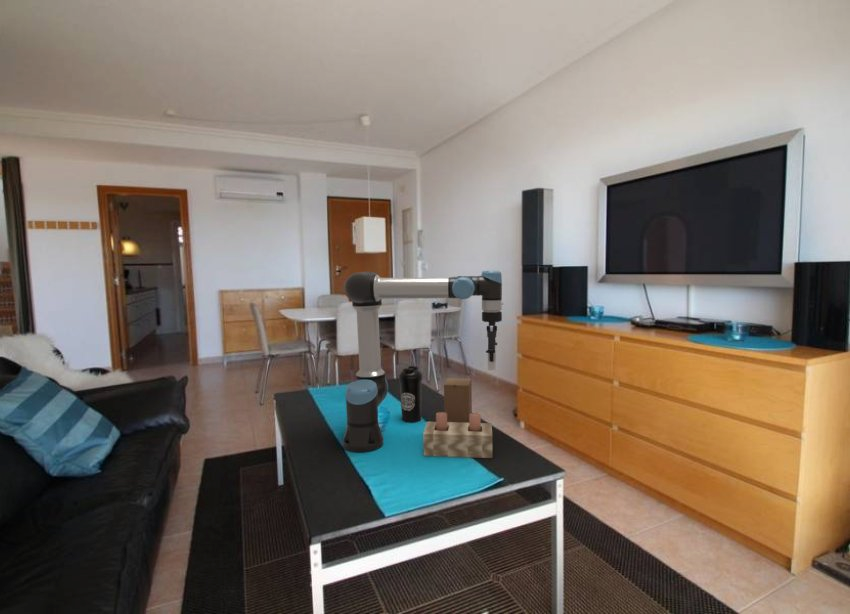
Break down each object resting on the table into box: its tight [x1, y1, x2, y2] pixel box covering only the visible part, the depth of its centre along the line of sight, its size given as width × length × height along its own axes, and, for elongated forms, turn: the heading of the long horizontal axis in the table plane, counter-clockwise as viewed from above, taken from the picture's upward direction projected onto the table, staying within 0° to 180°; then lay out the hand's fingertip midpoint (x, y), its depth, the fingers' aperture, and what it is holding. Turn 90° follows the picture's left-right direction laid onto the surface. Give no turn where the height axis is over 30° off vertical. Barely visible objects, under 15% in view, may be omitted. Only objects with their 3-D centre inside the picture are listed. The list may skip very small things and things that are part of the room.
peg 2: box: [469, 412, 482, 432], centre depth 157 cm, size 4×4×8 cm
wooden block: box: [443, 377, 473, 423], centre depth 178 cm, size 10×10×20 cm
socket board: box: [422, 421, 493, 459], centre depth 158 cm, size 24×12×8 cm, turn 83°
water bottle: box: [398, 365, 423, 424], centre depth 190 cm, size 10×10×23 cm
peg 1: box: [435, 411, 447, 431], centre depth 159 cm, size 4×4×8 cm
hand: (491, 365), depth 169 cm, fingers open, 13 cm apart
